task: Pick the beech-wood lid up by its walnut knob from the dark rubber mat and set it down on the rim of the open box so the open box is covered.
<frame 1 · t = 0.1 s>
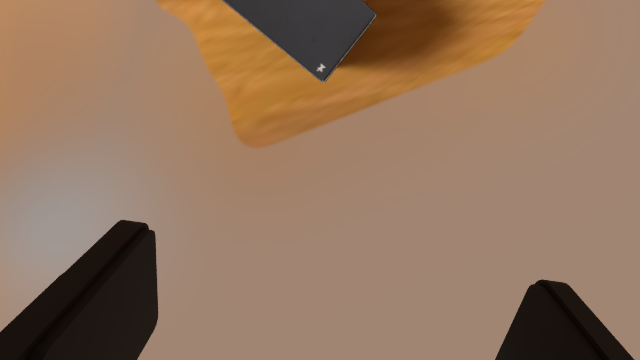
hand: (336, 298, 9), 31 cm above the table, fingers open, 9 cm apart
small box: (304, 6, 35), on the table
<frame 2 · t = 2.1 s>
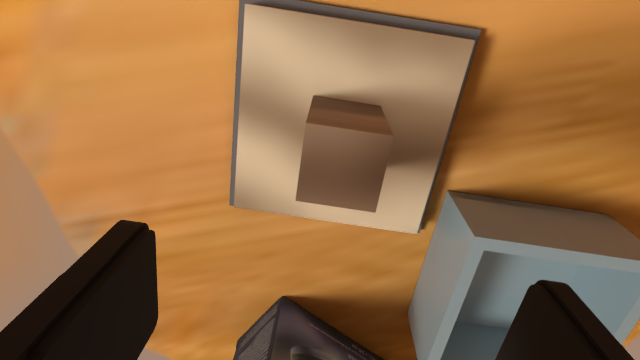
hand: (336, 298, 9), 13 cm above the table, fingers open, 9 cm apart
small box: (314, 348, 29), on the table
open box: (499, 268, 25), on the table
lid: (341, 127, 21), resting on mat
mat: (341, 125, 21), on the table
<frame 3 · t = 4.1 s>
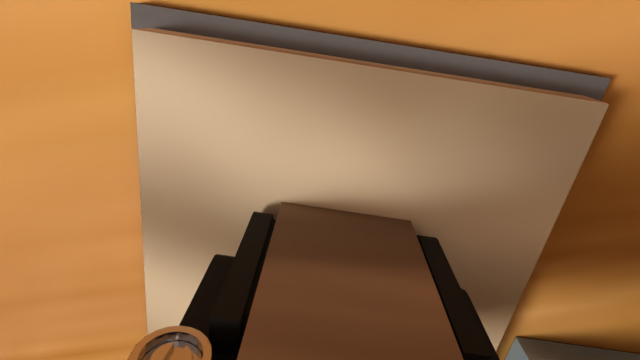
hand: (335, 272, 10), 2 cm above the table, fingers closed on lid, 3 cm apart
lid: (335, 245, 12), resting on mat, touching gripper
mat: (335, 238, 12), on the table
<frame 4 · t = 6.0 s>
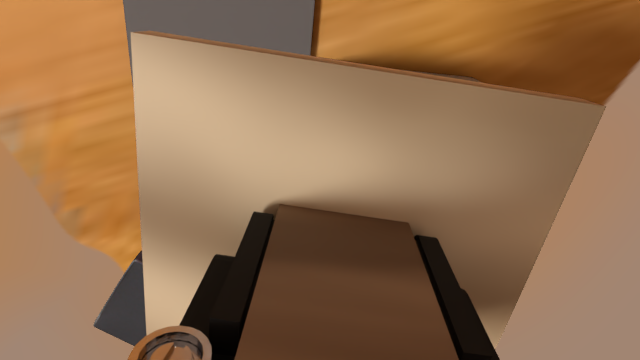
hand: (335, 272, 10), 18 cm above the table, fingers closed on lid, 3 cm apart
small box: (236, 236, 32), on the table
lid: (333, 246, 12), point 16 cm above the table, touching gripper
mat: (219, 0, 24), on the table
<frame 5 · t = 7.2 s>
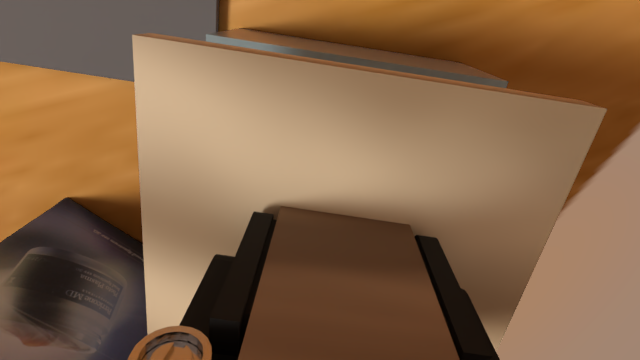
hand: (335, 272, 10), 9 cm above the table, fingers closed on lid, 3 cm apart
small box: (129, 275, 23), on the table
open box: (334, 149, 19), on the table
lid: (335, 248, 12), point 8 cm above the table, touching gripper
when the fingers open (8 cm above the table, at t = 8.0 s): lid drops 1 cm, resting on open box.
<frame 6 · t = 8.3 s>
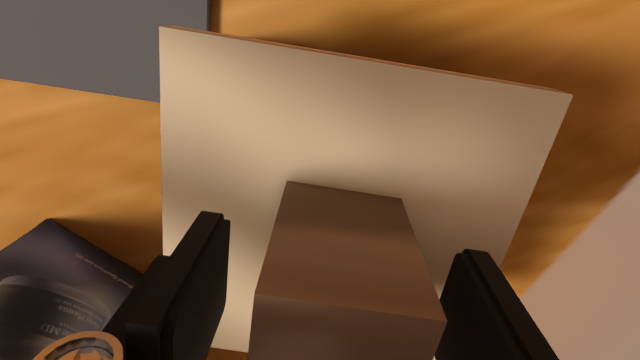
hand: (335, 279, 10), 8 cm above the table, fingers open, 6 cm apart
small box: (116, 299, 21), on the table
lid: (334, 222, 13), point 5 cm above the table, touching open box
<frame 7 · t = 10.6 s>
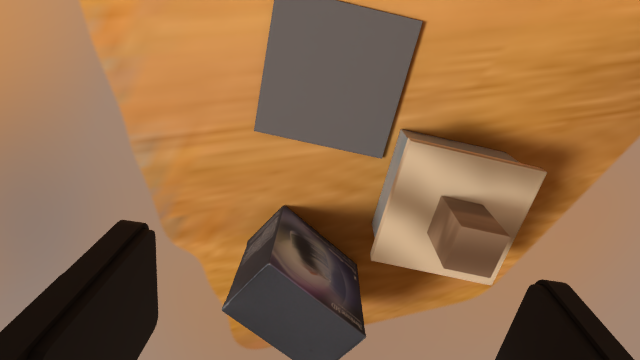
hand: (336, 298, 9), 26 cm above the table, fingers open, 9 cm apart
small box: (303, 251, 40), on the table
open box: (435, 189, 36), on the table
lid: (450, 213, 32), point 5 cm above the table, touching open box
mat: (333, 78, 33), on the table
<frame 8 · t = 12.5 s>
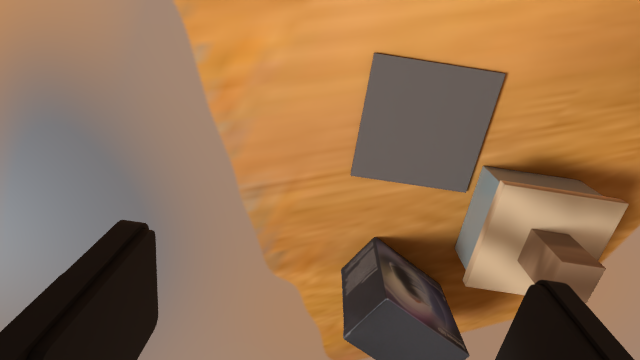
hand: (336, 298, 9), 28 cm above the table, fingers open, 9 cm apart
small box: (391, 275, 44), on the table
open box: (514, 215, 40), on the table
lid: (537, 241, 35), point 5 cm above the table, touching open box
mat: (422, 126, 36), on the table
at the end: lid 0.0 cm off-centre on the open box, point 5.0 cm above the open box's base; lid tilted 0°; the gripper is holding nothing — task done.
